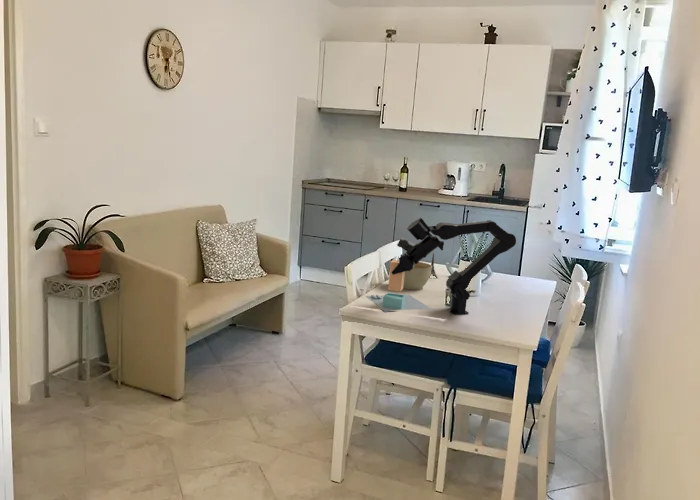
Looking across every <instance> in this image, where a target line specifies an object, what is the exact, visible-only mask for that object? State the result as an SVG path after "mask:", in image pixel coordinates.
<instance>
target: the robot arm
mask: <svg viewBox="0 0 700 500" xmlns="http://www.w3.org/2000/svg"><path fill="white" fill-rule="evenodd" d="M406 229H407V231H408V232H409V233H410V234H411V235H412V237H414V239H416V240H417V241H419V242H417V243H413V242H412V241H410V240H409V239H407V238H406V237H404V236H402V237H400V239H399V241H398V242H397V244H396V246H397V247H398V248H401V249H403V250H404V251H406V252H405V253H404V254H402V255H401V256H400V257H398V260H399V264H398V265H397V266H396V268H395V269H394V270H393V271H392V274H393V275H394V274H397V273H401V272H405V271H410V270H412V269H413V268H414V265H415V264H417V263H418V262H422V260H423V259H425V258H426V257H427V256H428V255H430V254H431V253H432V252H434V251H435V250H436V249H437V248H439V250H441V251H444V245H445V241H446V240H451V239H453V238H454V239H455V238H457V237H459V236H461V235H471V234H480V233H486V232H488V233H490V234H491V236H493V237H494V238H492V239H493V240H492V241H491V243H490V245H489V246H488V247H487V248H486V249H485V250H484V251H483V252H482V253H481V254H479V255H478V256H477V257H476V258H475V259H474V260H473V261H472V262H471V263H470V264H469V265H467V266H466V267H467V268H466V267H465V268H464V269H463V270H461V271H457V270H456V269H455V270H454V271H453V272H452V273H451V274H450V275H449V276H447V277H448V279H446V282H445V285H446V288H447V289H448V291H449V294H451V296H450V297H451V298H450V304H449V305H450V306H449V308H450V313H452V314H454V315H467V314H469V311H467V310H466V308H467V301H468V300H469V298H470V297H471V294H470V293H469V292H468V291H467V289H466V288H467V287H468V285H469V283H470V281H471V279H472V278H473V279H474V277H475V276H477V275H478V273H480V272H482V270H484V268H486V267H487V266H488V265H489V264H490V263H491V262H492V261H493V260H494V259H495V258H497V256H499V255H501V254H503V253H506V252H508V251H509V250H510V249H512V248H513V247H515V246H516V245H517V239H516V238H517V237H515V235H514V234H512V233H511V232H508V231H506V230H504V228H502V227H501V226H499V225H498V224H497V222H495V221H493V220H491V219H489V220H485V221H483V220H482V221H475V222H465V223H452V222H451V223H450V222H438V223H437V224H435V225H430V226H428V224H427V223H426V222H425V221H424V219H423V218H422V217H418V219H416V220H414V221H413V222H411V223H410V224H409V225H408V227H407V228H406ZM433 235H434V236H433ZM441 240H443V241H441ZM444 240H445V241H444ZM414 263H415V264H414Z"/></svg>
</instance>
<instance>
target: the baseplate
mask: <svg viewBox="0 0 700 500" xmlns="http://www.w3.org/2000/svg"><path fill="white" fill-rule="evenodd" d="M365 297H366V299H368V300H369V301H371V302H372V303H374V304H375V305H376V306H378V307H379V308H381V309H380V311H382V312H383V313H397V312H398V311H403V310H404V311H405V310H408V311H409V310H428V309H429V310H431V309H432V308H431V307H430V306H428V305H426V304H425V303H424V302H422V301H420V300H419V299H417V298H415V297H413V296H412V295H411V294H398V293H393V292H386V293H385V295H383V294H382V295H380V294H376V295H375V294H371V295H365Z"/></svg>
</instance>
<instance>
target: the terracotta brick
mask: <svg viewBox="0 0 700 500" xmlns="http://www.w3.org/2000/svg"><path fill="white" fill-rule="evenodd" d="M389 264H390V265H389V273H388V275H389V276H388V287H387V290H389V291H397V292H402V290H404V288H403V285H404V274H405V272H401V273H397V274H394V275H393V274H392V271H393V270H394V269H395V268H396V266H397V265H398V264H399V259H392V260H391V261H390V263H389Z"/></svg>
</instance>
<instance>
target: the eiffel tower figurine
mask: <svg viewBox="0 0 700 500" xmlns="http://www.w3.org/2000/svg"><path fill="white" fill-rule="evenodd" d="M434 258H435V252H433V253H432V258H431V264H430V265H431V266H432V269H431V274H430V276H435V277H436V278H435V279H439V277H438V276H437V273H436V270H435V265H434V264H435V263H434V262H435V259H434ZM429 279H431V278H430V277H429Z"/></svg>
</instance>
